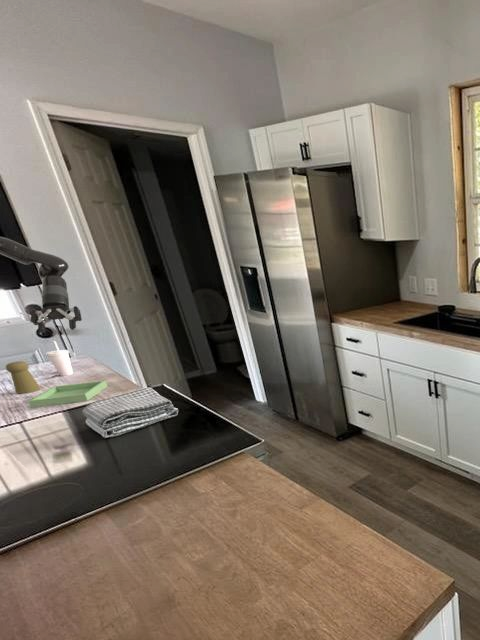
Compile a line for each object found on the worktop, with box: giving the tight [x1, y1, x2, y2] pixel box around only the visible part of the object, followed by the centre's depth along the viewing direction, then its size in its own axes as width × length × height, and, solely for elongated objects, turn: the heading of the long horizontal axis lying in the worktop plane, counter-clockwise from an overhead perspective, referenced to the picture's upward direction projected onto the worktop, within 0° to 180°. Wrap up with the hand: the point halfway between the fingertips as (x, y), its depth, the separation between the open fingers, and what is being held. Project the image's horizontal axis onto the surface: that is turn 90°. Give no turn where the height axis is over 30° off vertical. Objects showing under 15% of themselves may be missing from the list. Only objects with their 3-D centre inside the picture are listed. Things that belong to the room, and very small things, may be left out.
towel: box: [81, 386, 179, 439], centre depth 122 cm, size 15×18×8 cm
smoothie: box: [45, 340, 74, 377], centre depth 164 cm, size 6×6×14 cm
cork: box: [5, 360, 41, 395], centre depth 148 cm, size 6×6×11 cm
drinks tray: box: [27, 380, 109, 409], centre depth 144 cm, size 15×15×2 cm
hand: (57, 330), depth 168 cm, fingers open, 8 cm apart
